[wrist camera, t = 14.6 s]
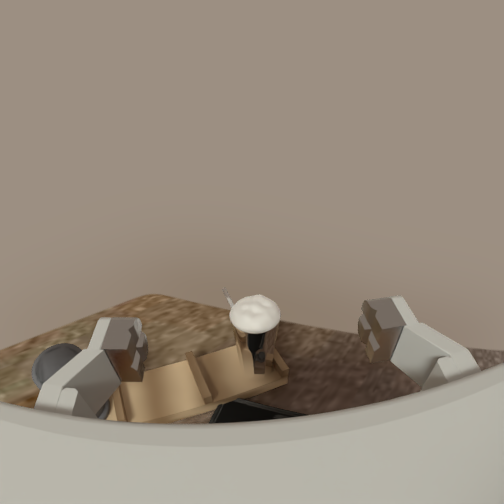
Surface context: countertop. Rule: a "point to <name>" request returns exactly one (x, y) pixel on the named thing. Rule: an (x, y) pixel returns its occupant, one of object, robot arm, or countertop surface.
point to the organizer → (191, 388)
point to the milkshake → (255, 333)
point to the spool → (53, 362)
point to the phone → (248, 412)
